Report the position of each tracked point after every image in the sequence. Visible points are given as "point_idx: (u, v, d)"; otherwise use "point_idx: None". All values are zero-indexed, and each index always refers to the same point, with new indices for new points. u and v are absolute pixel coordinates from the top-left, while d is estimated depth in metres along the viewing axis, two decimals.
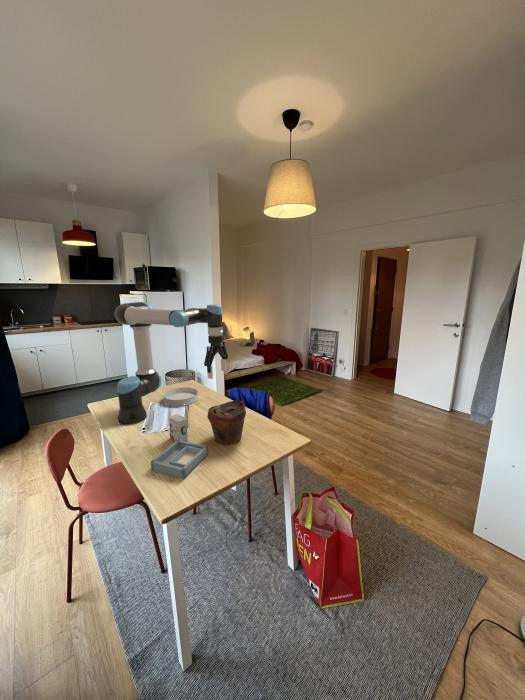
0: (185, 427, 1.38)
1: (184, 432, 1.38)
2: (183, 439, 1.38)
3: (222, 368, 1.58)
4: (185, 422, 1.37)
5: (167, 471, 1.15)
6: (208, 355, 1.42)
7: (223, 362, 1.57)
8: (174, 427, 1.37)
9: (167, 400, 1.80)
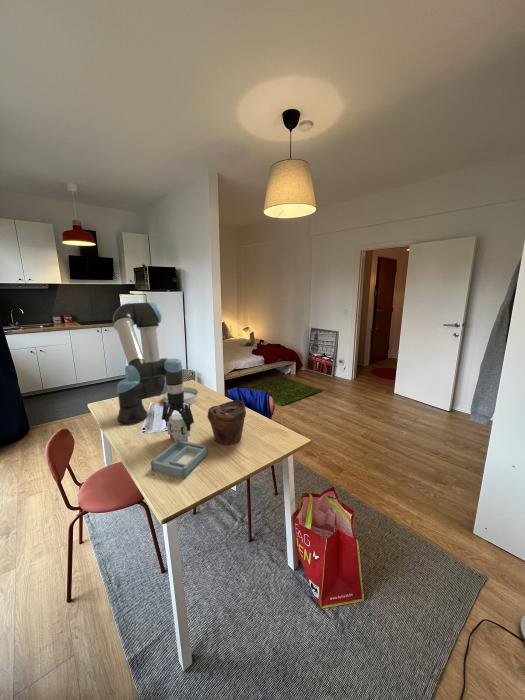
0: None
1: (184, 432, 1.38)
2: (183, 439, 1.38)
3: None
4: None
5: (167, 471, 1.15)
6: None
7: None
8: (174, 426, 1.37)
9: None
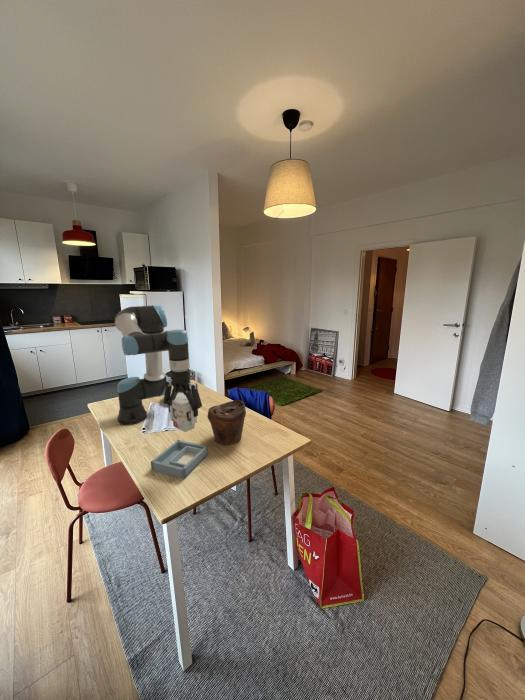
0: None
1: (190, 418, 1.15)
2: (189, 426, 1.15)
3: None
4: None
5: (167, 471, 1.15)
6: None
7: None
8: (178, 411, 1.15)
9: None
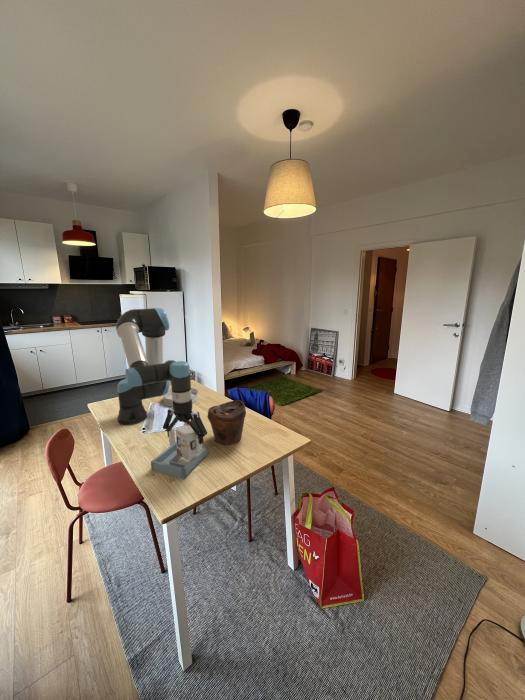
0: (195, 441, 1.18)
1: (194, 447, 1.18)
2: (192, 455, 1.18)
3: None
4: (195, 435, 1.17)
5: (167, 471, 1.15)
6: None
7: None
8: (182, 441, 1.17)
9: (167, 400, 1.80)
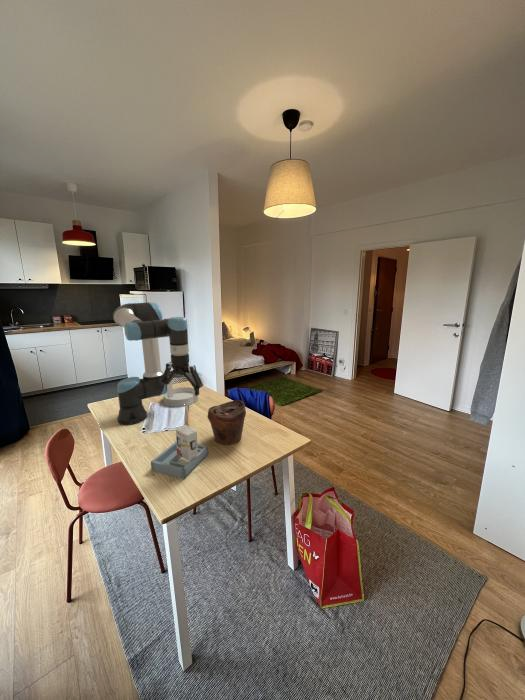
0: (195, 441, 1.18)
1: (194, 447, 1.18)
2: (192, 455, 1.18)
3: None
4: (195, 435, 1.17)
5: (167, 471, 1.15)
6: None
7: None
8: (182, 441, 1.17)
9: (167, 400, 1.80)
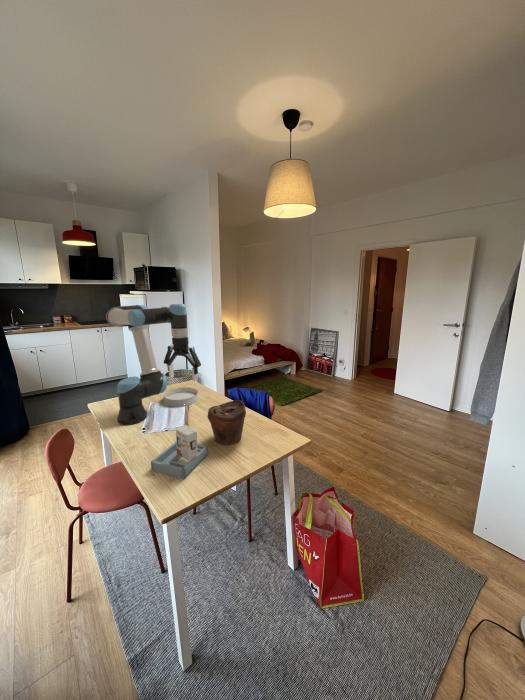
0: (195, 441, 1.18)
1: (194, 447, 1.18)
2: (192, 455, 1.18)
3: None
4: (195, 435, 1.17)
5: (167, 471, 1.15)
6: None
7: None
8: (182, 441, 1.17)
9: (167, 400, 1.80)
